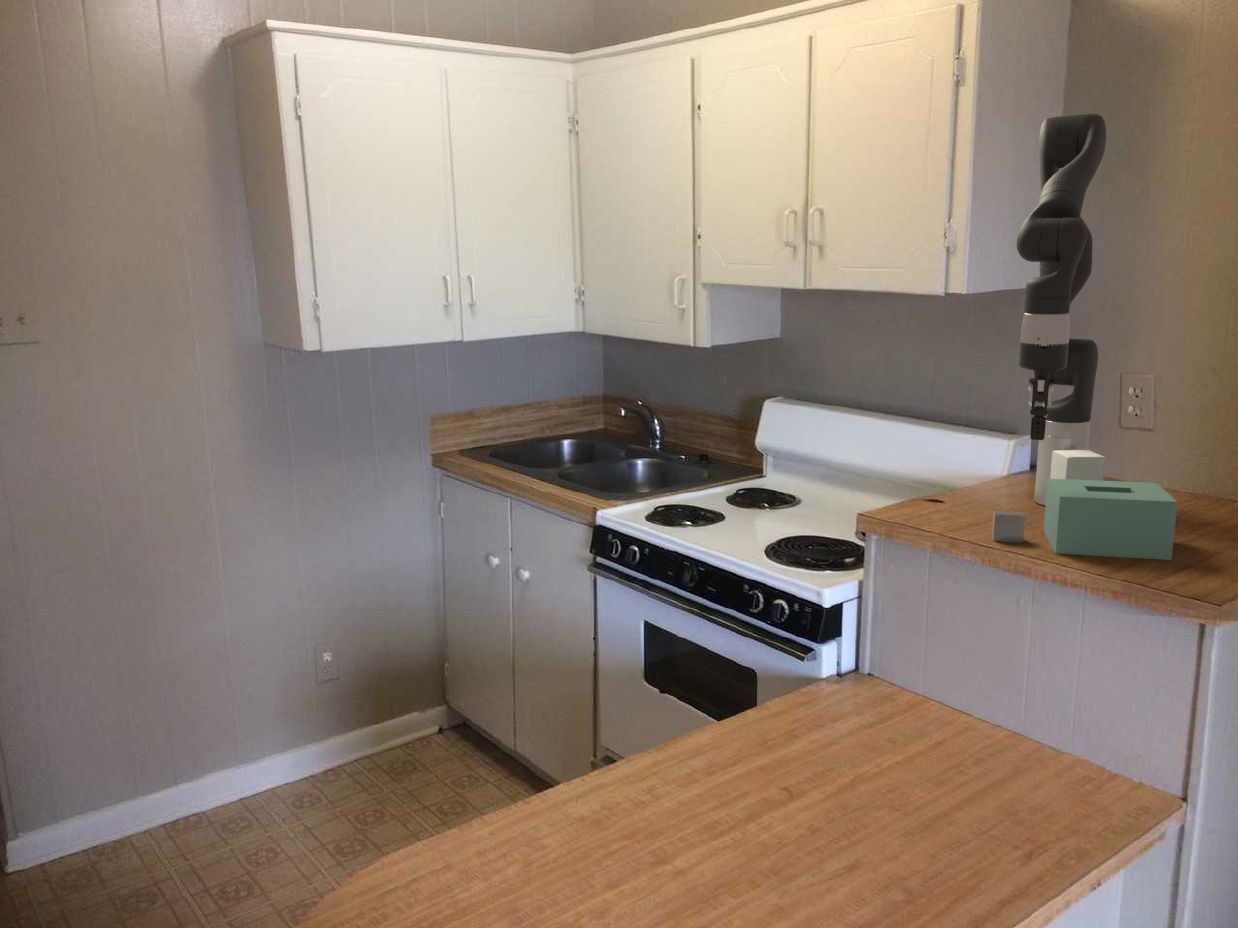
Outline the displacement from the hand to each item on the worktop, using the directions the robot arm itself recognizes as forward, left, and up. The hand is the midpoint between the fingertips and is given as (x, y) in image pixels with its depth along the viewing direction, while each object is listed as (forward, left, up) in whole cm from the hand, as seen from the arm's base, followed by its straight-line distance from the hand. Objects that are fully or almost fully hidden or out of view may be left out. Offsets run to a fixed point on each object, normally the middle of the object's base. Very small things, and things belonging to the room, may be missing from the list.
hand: (1037, 434), depth 176 cm
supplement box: (-22, +11, -20) cm, 31 cm away
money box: (-3, +13, -20) cm, 23 cm away
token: (-3, -3, -20) cm, 20 cm away
